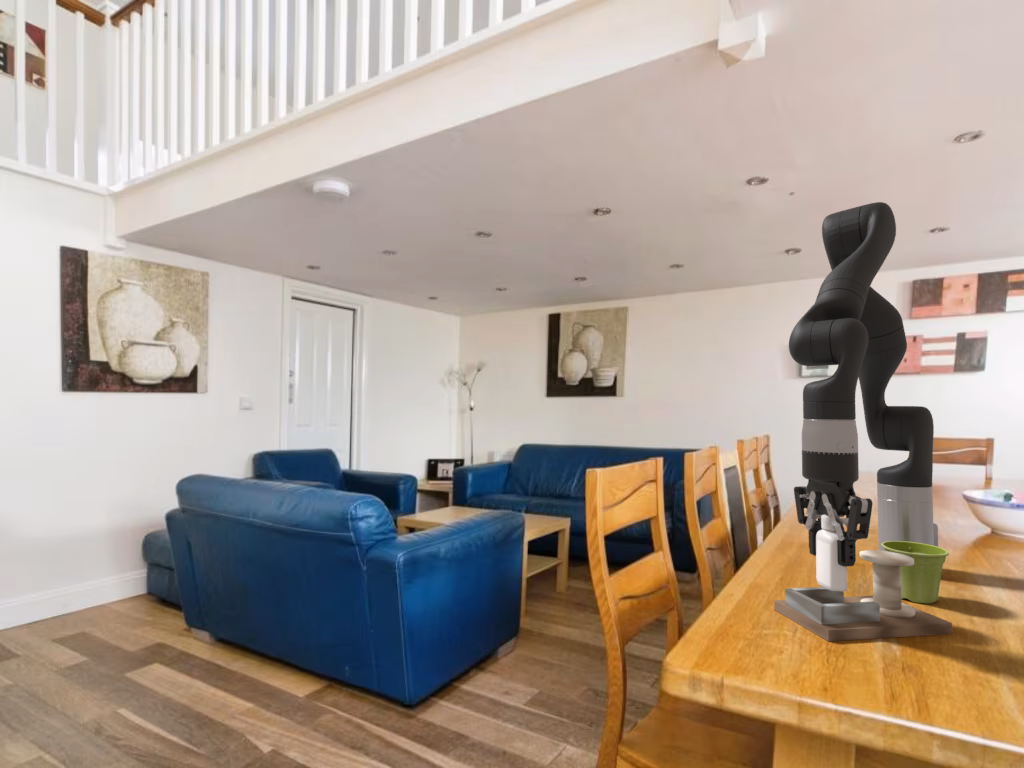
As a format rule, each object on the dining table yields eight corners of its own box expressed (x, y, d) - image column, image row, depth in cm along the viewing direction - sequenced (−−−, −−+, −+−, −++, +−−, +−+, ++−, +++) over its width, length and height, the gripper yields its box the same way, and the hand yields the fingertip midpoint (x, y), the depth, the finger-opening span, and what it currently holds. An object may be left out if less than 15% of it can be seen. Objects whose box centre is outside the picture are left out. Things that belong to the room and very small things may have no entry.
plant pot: (963, 610, 89) (961, 556, 89) (898, 605, 90) (897, 552, 91) (931, 591, 98) (929, 542, 98) (872, 587, 100) (871, 539, 100)
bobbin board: (884, 604, 91) (882, 545, 91) (952, 633, 79) (950, 565, 80) (774, 609, 88) (773, 548, 88) (828, 641, 76) (827, 570, 76)
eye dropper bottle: (811, 588, 82) (811, 507, 83) (817, 578, 87) (817, 502, 87) (845, 594, 80) (844, 511, 80) (849, 584, 84) (848, 506, 84)
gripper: (889, 452, 78) (892, 573, 77) (818, 445, 92) (819, 547, 91) (842, 452, 76) (844, 575, 76) (777, 445, 91) (778, 548, 90)
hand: (831, 559), depth 83 cm, fingers closed on eye dropper bottle, 5 cm apart
